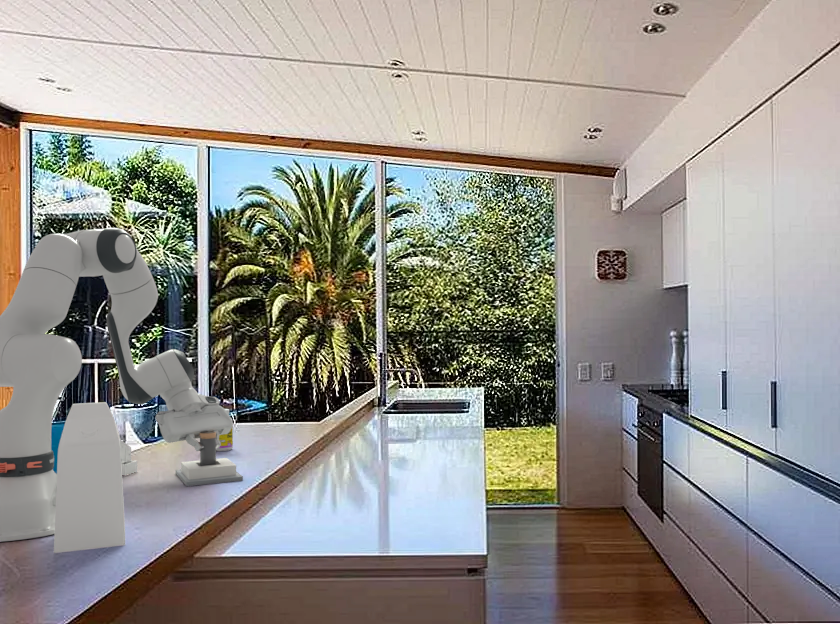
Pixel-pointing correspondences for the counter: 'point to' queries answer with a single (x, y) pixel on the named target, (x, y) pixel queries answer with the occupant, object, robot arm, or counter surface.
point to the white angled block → (127, 459)
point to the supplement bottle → (226, 439)
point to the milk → (89, 481)
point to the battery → (208, 448)
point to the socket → (208, 472)
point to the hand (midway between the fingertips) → (209, 448)
